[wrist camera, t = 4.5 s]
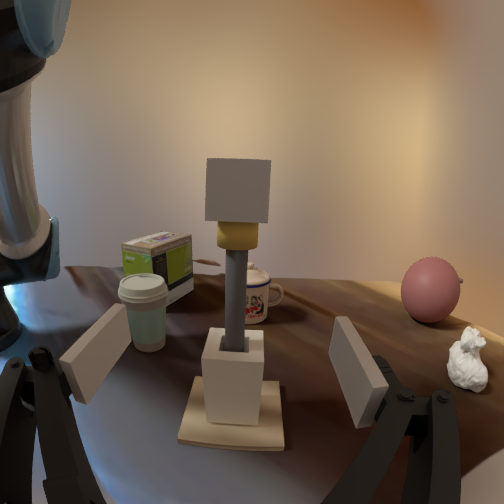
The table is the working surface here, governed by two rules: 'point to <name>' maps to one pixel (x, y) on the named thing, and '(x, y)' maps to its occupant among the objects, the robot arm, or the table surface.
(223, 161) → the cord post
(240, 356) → the marker sleeve
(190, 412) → the tan slab base
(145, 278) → the coffee cup
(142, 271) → the tea box
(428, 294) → the balloon
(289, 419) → the table surface
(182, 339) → the table surface
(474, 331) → the bust
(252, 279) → the teacup with lid
